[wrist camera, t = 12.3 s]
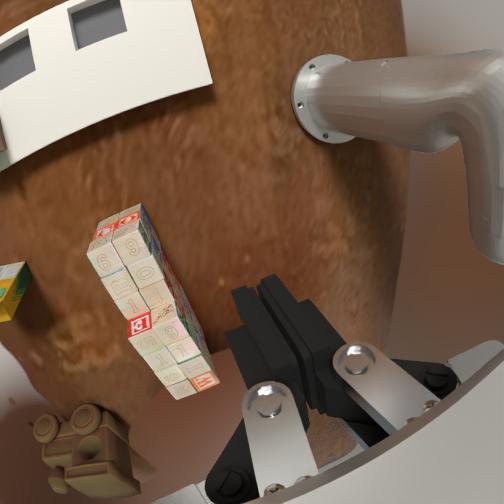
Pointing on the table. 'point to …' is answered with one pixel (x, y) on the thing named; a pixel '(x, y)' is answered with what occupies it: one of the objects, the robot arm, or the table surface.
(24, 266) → the crayon box
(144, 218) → the stack of blocks
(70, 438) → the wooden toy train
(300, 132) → the table surface
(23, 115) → the trap board
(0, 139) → the walnut block
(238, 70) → the table surface
